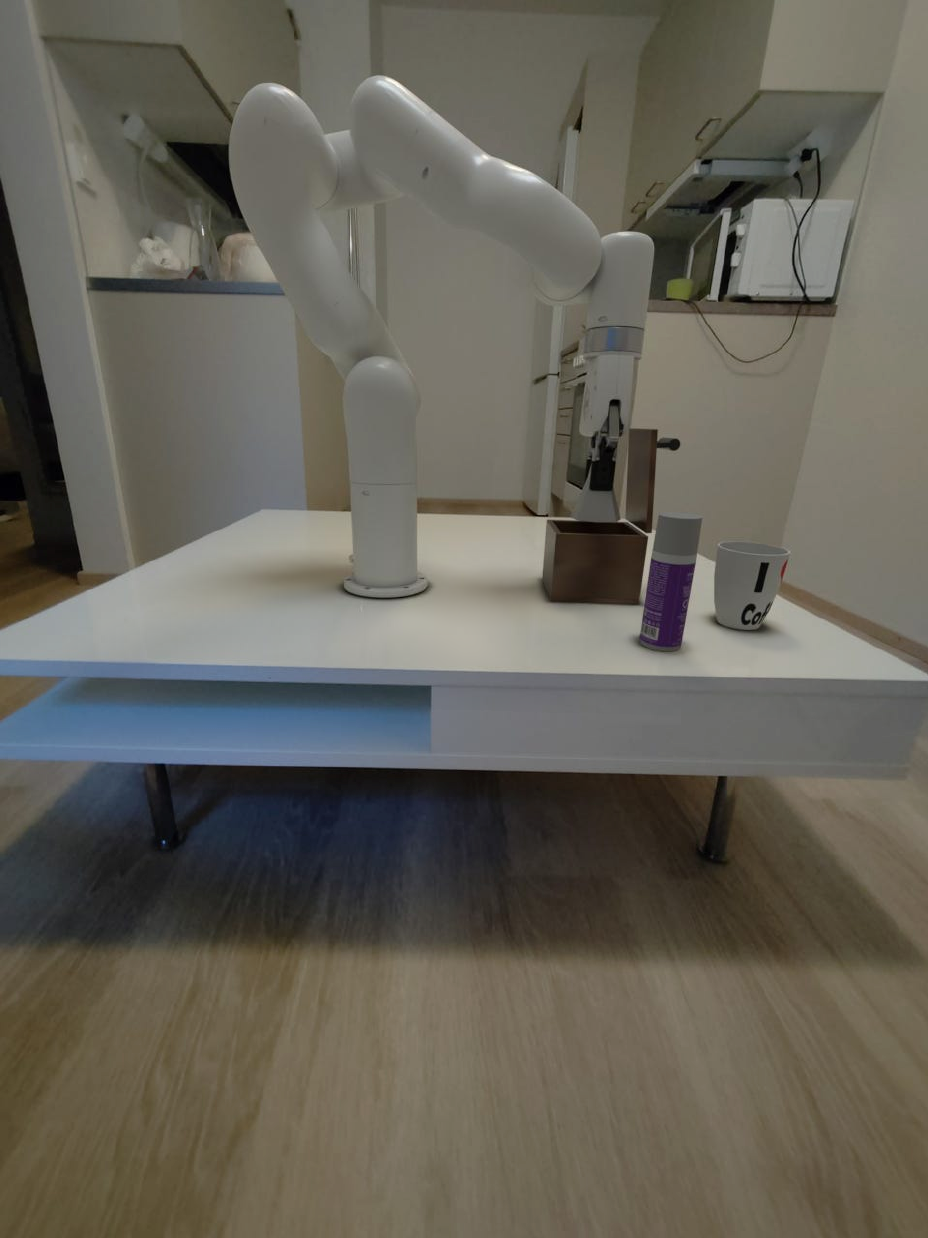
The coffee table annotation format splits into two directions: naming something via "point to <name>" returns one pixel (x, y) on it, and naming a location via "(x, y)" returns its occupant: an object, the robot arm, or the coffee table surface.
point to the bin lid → (643, 474)
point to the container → (670, 580)
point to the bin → (593, 562)
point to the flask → (596, 504)
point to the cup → (747, 582)
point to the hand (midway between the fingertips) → (597, 487)
